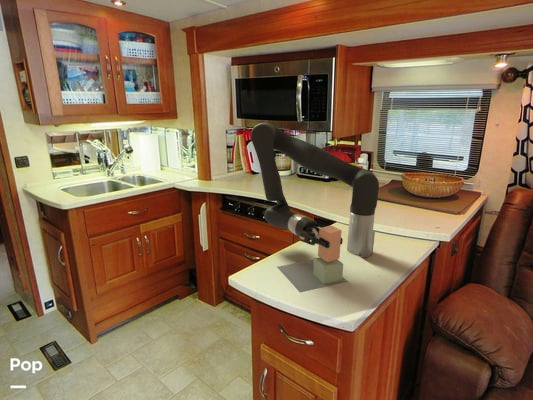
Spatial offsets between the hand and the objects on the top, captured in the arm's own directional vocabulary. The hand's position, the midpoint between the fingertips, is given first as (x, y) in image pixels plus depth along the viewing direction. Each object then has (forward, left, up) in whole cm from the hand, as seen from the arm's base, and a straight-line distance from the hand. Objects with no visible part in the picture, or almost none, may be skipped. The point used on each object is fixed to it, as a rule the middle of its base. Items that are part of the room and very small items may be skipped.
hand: (335, 243), depth 110 cm
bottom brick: (0, -3, -13) cm, 14 cm away
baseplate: (+4, -7, -14) cm, 16 cm away
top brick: (0, -3, -6) cm, 7 cm away
